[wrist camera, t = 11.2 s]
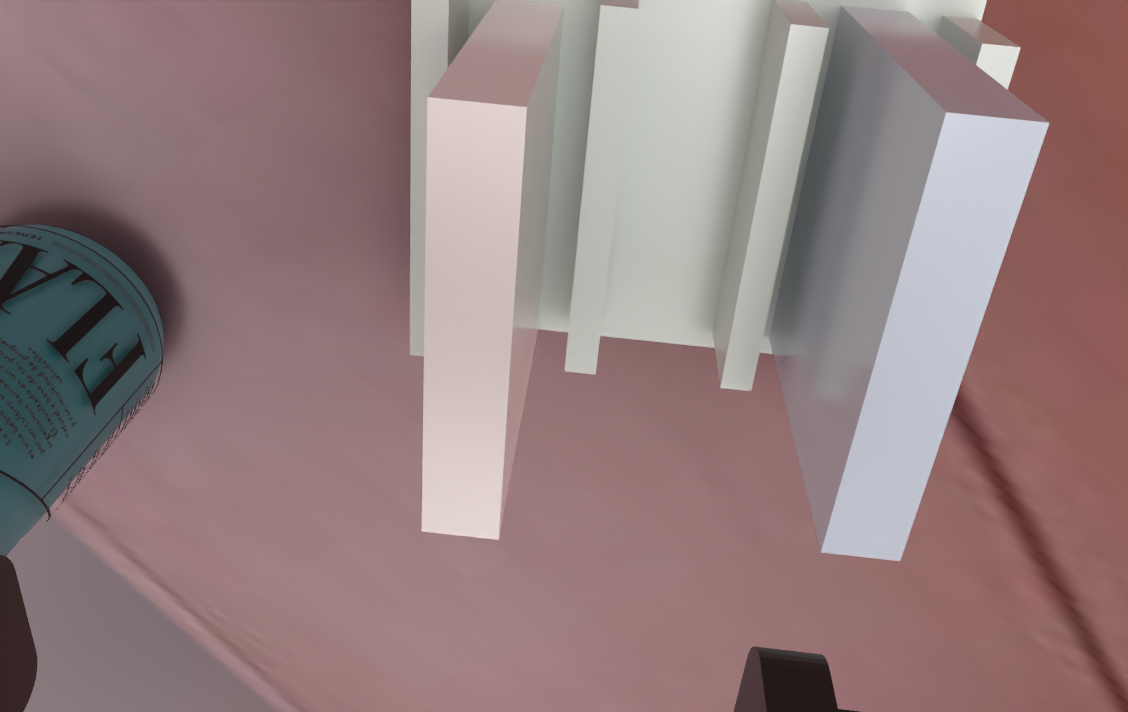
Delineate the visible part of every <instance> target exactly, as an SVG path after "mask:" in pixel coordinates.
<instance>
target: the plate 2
mask: <svg viewBox="0 0 1128 712" xmlns="http://www.w3.org/2000/svg"><path fill="white" fill-rule="evenodd" d="M1048 125H1049V122H1048V121H1047V120H1045V119H1044V118H1043V117H1041V116H1040V115H1039V114H1038V113H1036V112H1035V111H1034V110H1033V109H1031V108H1030V107H1029V106H1028V105H1026V104H1025V103H1024V102H1022V101H1021V100H1020V99H1019V98H1017V97H1016V96H1015V95H1014V94H1012V93H1011V92H1010V91H1008V90H1007V89H1006V88H1005V87H1003V86H1002V85H1001V84H1000V83H998V82H997V81H996V80H995V79H993V78H992V77H991V76H989V75H988V74H987V73H986V72H984V71H983V70H982V69H981V68H979V67H978V66H977V65H976V64H974V63H973V62H972V61H970V60H969V59H968V58H967V57H965V56H964V55H963V54H962V53H960V52H959V51H958V50H956V49H955V48H954V47H953V46H951V45H950V44H949V43H948V42H946V41H945V40H944V39H943V38H941V37H940V36H939V35H937V34H936V33H935V32H934V31H932V30H931V29H930V28H929V27H927V26H926V25H925V24H924V23H922V22H921V21H920V20H918V19H917V18H916V17H915V16H913V15H912V14H911V13H910V12H902V11H892V10H882V9H872V8H862V7H852V6H842V5H841V9H840V14H839V18H838V23H837V28H836V32H835V37H834V41H833V46H832V51H831V55H830V60H829V64H828V69H827V73H826V78H825V83H824V87H823V92H822V96H821V101H820V106H819V110H818V115H817V119H816V124H815V129H814V133H813V138H812V142H811V147H810V152H809V156H808V161H807V165H806V170H805V175H804V179H803V184H802V188H801V193H800V198H799V202H798V207H797V211H796V216H795V221H794V225H793V230H792V234H791V239H790V244H789V248H788V253H787V257H786V262H785V266H784V271H783V276H782V280H781V285H780V289H779V294H778V299H777V303H776V308H775V312H774V317H773V322H772V326H771V331H770V335H769V340H770V344H771V349H772V353H773V357H774V361H775V365H776V369H777V373H778V377H779V382H780V386H781V390H782V394H783V398H784V402H785V406H786V410H787V415H788V419H789V423H790V427H791V431H792V435H793V439H794V443H795V448H796V452H797V456H798V460H799V464H800V468H801V472H802V477H803V481H804V485H805V489H806V493H807V497H808V501H809V505H810V510H811V514H812V518H813V522H814V526H815V530H816V534H817V538H818V543H819V547H820V551H821V552H822V553H831V554H840V555H849V556H858V557H867V558H877V559H886V560H895V561H900V560H901V557H902V554H903V551H904V548H905V545H906V542H907V539H908V537H909V534H910V531H911V528H912V525H913V522H914V519H915V516H916V513H917V510H918V507H919V504H920V501H921V498H922V495H923V492H924V490H925V487H926V484H927V481H928V478H929V475H930V472H931V469H932V466H933V463H934V460H935V457H936V454H937V451H938V448H939V445H940V443H941V440H942V437H943V434H944V431H945V428H946V425H947V422H948V419H949V416H950V413H951V410H952V407H953V404H954V401H955V398H956V396H957V393H958V390H959V387H960V384H961V381H962V378H963V375H964V372H965V369H966V366H967V363H968V360H969V357H970V354H971V351H972V349H973V346H974V343H975V340H976V337H977V334H978V331H979V328H980V325H981V322H982V319H983V316H984V313H985V310H986V307H987V304H988V302H989V299H990V296H991V293H992V290H993V287H994V284H995V281H996V278H997V275H998V272H999V269H1000V266H1001V263H1002V260H1003V257H1004V255H1005V252H1006V249H1007V246H1008V243H1009V240H1010V237H1011V234H1012V231H1013V228H1014V225H1015V222H1016V219H1017V216H1018V213H1019V210H1020V208H1021V205H1022V202H1023V199H1024V196H1025V193H1026V190H1027V187H1028V184H1029V181H1030V178H1031V175H1032V172H1033V169H1034V166H1035V163H1036V161H1037V158H1038V155H1039V152H1040V149H1041V146H1042V143H1043V140H1044V137H1045V134H1046V131H1047V128H1048Z"/></svg>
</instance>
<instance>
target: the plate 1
mask: <svg viewBox="0 0 1128 712" xmlns="http://www.w3.org/2000/svg"><path fill="white" fill-rule="evenodd" d="M563 13H564V4H560V3H550V2H540V1H530V0H496V1H495V2H494V3H493V5H492V6H491V8H490V9H489V11H488V12H487V13H486V15H485V16H484V18H483V19H482V20H481V22H480V23H479V25H478V26H477V28H476V29H475V30H474V32H473V33H472V35H471V36H470V37H469V39H468V40H467V42H466V43H465V45H464V46H463V47H462V49H461V50H460V52H459V53H458V54H457V56H456V57H455V59H454V60H453V62H452V63H451V64H450V66H449V67H448V69H447V70H446V71H445V73H444V74H443V76H442V77H441V79H440V80H439V81H438V83H437V84H436V86H435V87H434V88H433V90H432V91H431V93H430V94H429V96H428V97H427V166H426V241H425V317H424V392H423V468H422V532H432V533H441V534H450V535H459V536H468V537H477V538H486V539H496V540H499V536H500V530H501V525H502V520H503V515H504V509H505V504H506V499H507V493H508V488H509V483H510V477H511V472H512V467H513V461H514V456H515V451H516V445H517V440H518V435H519V429H520V424H521V419H522V414H523V408H524V403H525V398H526V392H527V387H528V382H529V376H530V371H531V366H532V360H533V355H534V350H535V344H536V339H537V334H538V324H539V311H540V299H541V286H542V274H543V262H544V249H545V237H546V224H547V212H548V199H549V187H550V174H551V162H552V150H553V137H554V125H555V112H556V100H557V87H558V75H559V62H560V50H561V37H562V25H563Z"/></svg>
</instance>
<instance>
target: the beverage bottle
mask: <svg viewBox="0 0 1128 712" xmlns="http://www.w3.org/2000/svg"><path fill="white" fill-rule="evenodd" d="M0 227H7V228H3V229H0V555H4V556H7V555H8V553H9V552H10V551H11V550H12V549H13V547H14V546H15V545H16V544H17V543H18V541H19V540H20V539H21V538H22V537H23V536H24V535H25V534H26V533H28V532H29V531H30V530H31V529H32V528H33V526H34V525H35V524H36V523H37V522H38V521H39V520H40V518H41V517H42V516H43V515H44V514H45V513H46V511H47V512H48V516H49V518H48V520H49V519H50V516H51V514H50V510H49V508H50V507H51V506H52V504H53V503H54V502H55V501H56V500H57V499H58V497H59V496H60V495H61V494H62V493H63V491H64V490H65V489H66V488H67V487H69V485H70V483H71V482H72V481H73V480H74V479H75V477H76V476H77V475H78V474H79V473H80V472H81V470H82V469H83V470H85V468H86V464H87V463H88V462H89V461H90V460H91V459H92V457H93V458H94V457H95V454H96V453H97V451H99V449H100V448H101V447H102V446H103V444H104V443H105V442H106V441H107V440H108V442H109V439H110V436H111V435H113V433H114V431H115V430H116V429H117V428H118V427H119V429H120V425H121V423H122V422H123V421H124V420H125V418H127V416H128V415H129V414H130V416H131V414H132V412H131V411H132V410H133V409H134V408H135V409H134V412H135V410H136V406H137V404H138V403H139V405H138V407H139V406H140V403H141V400H142V398H144V399H145V395H146V394H147V392H148V394H149V391H150V388H151V386H152V385H153V386H152V388H153V387H154V383H155V382H154V381H155V379H156V376H157V374H158V370H159V367H160V364H161V371H162V362H163V347H164V333H163V327H162V321H161V318H160V315H159V311H158V308H157V306H156V304H155V302H154V300H153V297H152V296H151V294H150V292H149V291H148V289H147V287H146V286H145V285H144V283H143V282H142V281H141V279H140V278H139V277H138V276H137V274H136V273H135V272H134V271H133V270H132V269H131V268H130V267H129V266H128V265H127V264H126V263H125V262H123V261H122V260H121V259H120V258H119V257H117V256H116V255H115V254H114V253H112V252H111V251H109V250H108V249H106V248H105V247H103V246H102V245H100V244H98V243H96V242H95V241H93V240H91V239H89V238H87V237H84V236H82V235H80V234H78V233H75V232H72V231H69V230H66V229H62V228H57V227H53V226H45V225H17V226H0ZM161 359H162V361H161ZM160 375H161V372H160ZM159 379H160V376H159ZM158 382H159V380H158ZM157 385H158V384H157ZM156 387H157V386H156ZM155 389H156V388H155ZM152 390H153V389H152ZM152 390H151V392H152ZM154 391H155V390H154ZM151 392H150V394H151ZM153 393H154V392H153ZM148 394H147V395H148ZM149 396H150V395H149ZM147 397H148V396H147ZM147 397H146V398H147ZM148 399H149V397H148ZM148 399H147V400H148ZM143 401H144V400H143ZM143 401H142V402H143ZM145 401H146V400H145ZM145 401H144V403H145ZM146 402H148V401H146ZM144 403H143V405H144ZM141 406H142V404H141ZM141 406H140V407H141ZM137 410H138V409H137ZM137 410H136V412H137ZM138 411H140V409H139V410H138ZM134 412H133V414H134ZM136 412H135V414H138V412H137V413H136ZM133 414H132V415H133ZM132 417H133V416H132ZM132 417H131V419H133V418H132ZM134 417H135V416H134ZM131 419H130V420H131ZM126 420H127V419H126ZM126 420H125V423H126ZM128 421H129V419H128ZM128 421H127V423H128ZM130 422H131V421H129V423H130ZM125 423H124V425H125ZM124 425H123V427H124ZM127 425H128V424H127ZM123 427H122V429H123ZM125 428H126V426H125ZM119 429H118V431H119ZM121 431H123V430H121ZM117 433H118V432H117ZM120 433H121V432H120ZM116 435H117V434H116ZM113 436H114V435H113ZM113 436H112V437H113ZM112 437H111V438H112ZM117 437H118V436H117ZM115 438H116V436H115ZM115 438H114V439H115ZM108 442H107V444H108ZM109 443H110V442H109ZM112 443H113V442H112ZM112 443H111V444H112ZM107 444H106V445H107ZM108 446H109V445H108ZM105 447H106V446H105ZM109 447H110V446H109ZM103 448H104V447H103ZM105 449H106V448H105ZM105 449H104V450H105ZM107 449H108V447H107ZM107 449H106V450H107ZM102 450H103V449H102ZM106 450H105V452H106ZM99 452H100V451H99ZM99 452H98V453H99ZM101 452H102V451H101ZM105 452H103V453H102V455H103V454H104V453H105ZM98 453H97V456H96V458H97V457H98V455H99V454H98ZM102 455H101V456H102ZM101 456H100V457H101ZM93 460H94V459H93ZM97 461H98V460H97ZM97 461H96V460H95V461H94V463H95V462H97ZM92 463H93V461H92ZM94 463H93V465H94ZM88 466H89V465H88ZM87 468H88V467H87ZM90 468H92V467H91V466H90V467H89V469H90ZM83 473H84V472H82V474H81V473H80V474H81V477H82V475H83ZM80 474H79V475H80ZM86 474H87V473H86ZM86 474H85V475H86ZM79 475H78V476H79ZM81 477H80V478H81ZM78 479H79V478H77V480H78ZM77 480H76V482H77ZM80 480H82V479H79V481H80ZM78 483H79V482H78ZM73 484H74V483H73ZM75 484H76V483H75ZM72 486H73V485H72ZM75 486H77V485H74V487H75ZM74 487H73V489H74ZM69 488H70V487H69ZM69 488H67V490H68V489H69ZM71 488H72V487H71ZM71 492H72V491H71ZM71 492H70V493H71ZM67 493H68V491H67V492H66V495H67ZM65 497H66V496H65ZM65 497H64V498H63V501H64V499H65ZM66 498H67V497H66ZM63 501H62V502H63ZM61 504H62V503H61ZM56 510H57V509H56ZM48 520H47V521H48Z"/></svg>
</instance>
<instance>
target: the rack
mask: <svg viewBox="0 0 1128 712" xmlns="http://www.w3.org/2000/svg"><path fill="white" fill-rule="evenodd" d="M495 1H496V0H411V184H410V355H416V356H424V317H425V241H426V166H427V97H428V96H429V94H430V93H431V91H432V90H433V88H434V87H435V86H436V84H437V83H438V81H439V80H440V79H441V77H442V76H443V74H444V73H445V71H446V70H447V69H448V67H449V66H450V64H451V63H452V62H453V60H454V59H455V57H456V56H457V54H458V53H459V52H460V50H461V49H462V47H463V46H464V45H465V43H466V42H467V40H468V39H469V37H470V36H471V35H472V33H473V32H474V30H475V29H476V28H477V26H478V25H479V23H480V22H481V20H482V19H483V18H484V16H485V15H486V13H487V12H488V11H489V9H490V8H491V6H492V5H493V3H494V2H495ZM530 1H540V2H550V3H560V4H564V13H563V25H562V37H561V50H560V62H559V75H558V87H557V100H556V112H555V125H554V137H553V150H552V162H551V174H550V187H549V199H548V212H547V224H546V237H545V249H544V262H543V274H542V286H541V299H540V311H539V324H538V329H541V330H550V331H560V332H568V341H567V352H566V362H565V371H566V372H576V373H585V374H595V375H596V367H597V359H598V350H599V342H600V336H607V337H616V338H626V339H635V340H645V341H654V342H664V343H673V344H682V345H692V346H701V347H711V348H715V354H716V361H717V369H718V376H719V383H720V388H726V389H736V390H745V391H752V386H753V381H754V377H755V372H756V367H757V363H758V358H759V353H768V354H773V353H772V349H771V344H770V340H769V335H770V331H771V326H772V322H773V317H774V312H775V308H776V303H777V299H778V294H779V289H780V285H781V280H782V276H783V271H784V266H785V262H786V257H787V253H788V248H789V244H790V239H791V234H792V230H793V225H794V221H795V216H796V211H797V207H798V202H799V198H800V193H801V188H802V184H803V179H804V175H805V170H806V165H807V161H808V156H809V152H810V147H811V142H812V138H813V133H814V129H815V124H816V119H817V115H818V110H819V106H820V101H821V96H822V92H823V87H824V83H825V78H826V73H827V69H828V64H829V60H830V55H831V51H832V46H833V41H834V37H835V32H836V28H837V23H838V18H839V14H840V9H841V5H842V6H852V7H862V8H872V9H882V10H892V11H902V12H910V13H911V14H912V15H913V16H915V17H916V18H917V19H918V20H920V21H921V22H922V23H924V24H925V25H926V26H927V27H929V28H930V29H931V30H932V31H934V32H935V33H936V34H937V35H939V36H940V37H941V38H943V39H944V40H945V41H946V42H948V43H949V44H950V45H951V46H953V47H954V48H955V49H956V50H958V51H959V52H960V53H962V54H963V55H964V56H965V57H967V58H968V59H969V60H970V61H972V62H973V63H974V64H976V65H977V66H978V67H979V68H981V69H982V70H983V71H984V72H986V73H987V74H988V75H989V76H991V77H992V78H993V79H995V80H996V81H997V82H998V83H1000V84H1001V85H1002V86H1003V87H1005V88H1006V89H1007V90H1008V87H1009V83H1010V80H1011V77H1012V74H1013V71H1014V67H1015V64H1016V61H1017V58H1018V55H1019V51H1020V48H1021V47H1019V46H1018V45H1016V44H1015V43H1013V42H1012V41H1010V40H1009V39H1007V38H1006V37H1004V36H1003V35H1001V34H999V33H998V32H996V31H995V30H993V29H992V28H990V27H989V26H987V25H986V24H984V23H983V22H981V19H982V16H983V13H984V9H985V6H986V2H987V0H530Z"/></svg>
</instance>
